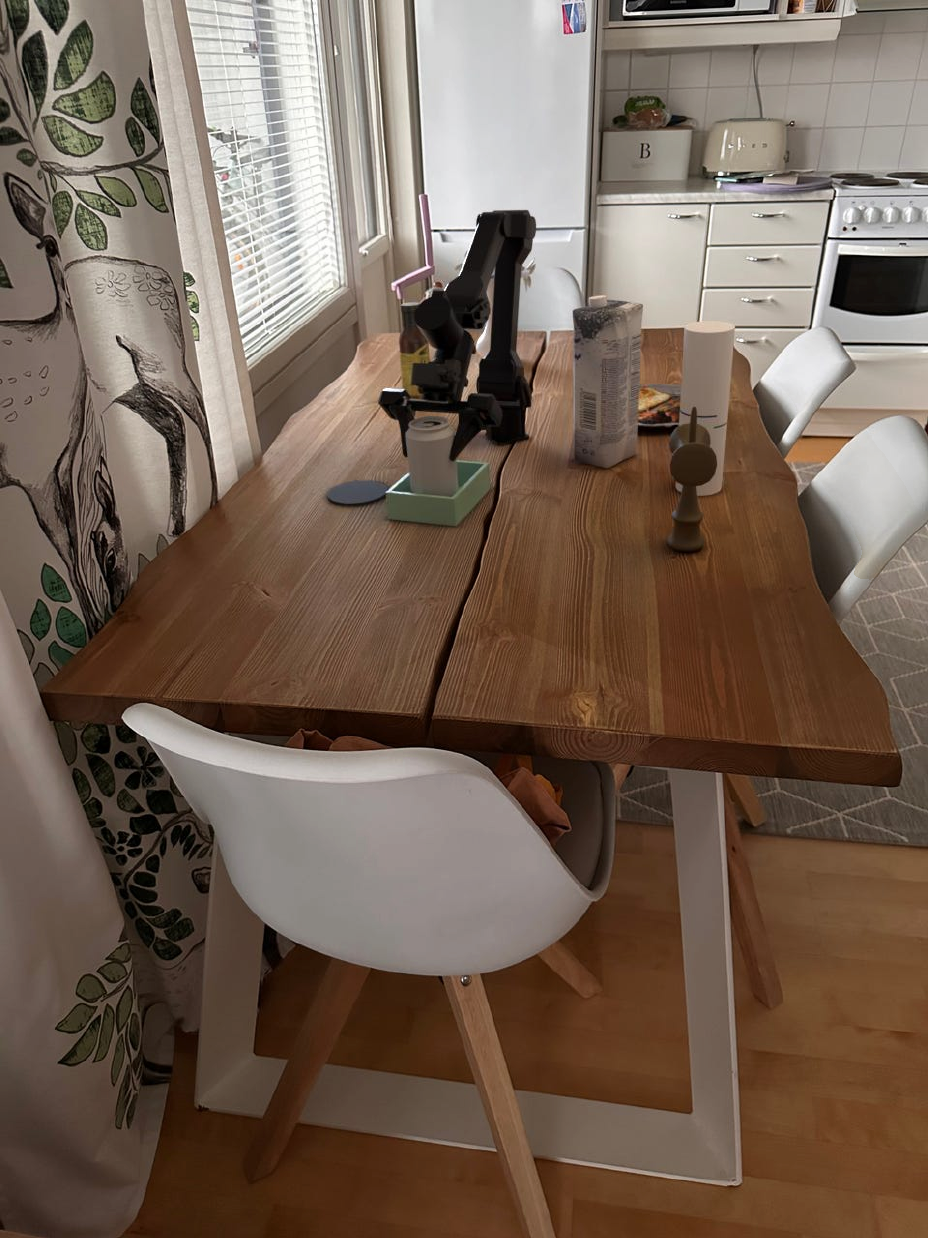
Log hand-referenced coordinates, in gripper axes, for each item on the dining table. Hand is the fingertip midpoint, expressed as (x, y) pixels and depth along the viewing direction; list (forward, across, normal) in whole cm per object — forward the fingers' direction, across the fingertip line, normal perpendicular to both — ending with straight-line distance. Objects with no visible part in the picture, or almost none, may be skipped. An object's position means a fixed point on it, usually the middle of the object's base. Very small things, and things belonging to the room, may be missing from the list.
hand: (428, 458), depth 141 cm
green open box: (+4, 0, +9) cm, 10 cm away
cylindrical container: (-7, +38, +20) cm, 43 cm away
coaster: (+4, -15, +9) cm, 18 cm away
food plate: (-31, +24, +45) cm, 59 cm away
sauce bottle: (-31, -26, +45) cm, 61 cm away
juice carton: (-14, +20, +27) cm, 36 cm away
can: (+4, 0, +6) cm, 7 cm away
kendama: (+8, +40, +4) cm, 41 cm away
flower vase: (-55, -20, +70) cm, 91 cm away
